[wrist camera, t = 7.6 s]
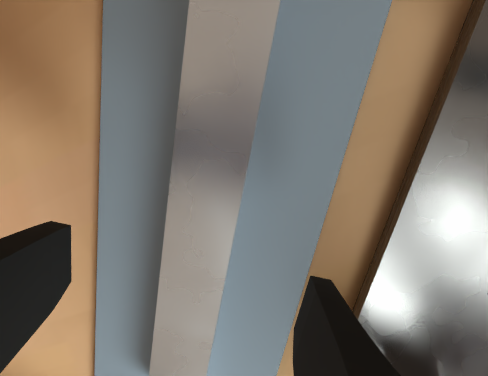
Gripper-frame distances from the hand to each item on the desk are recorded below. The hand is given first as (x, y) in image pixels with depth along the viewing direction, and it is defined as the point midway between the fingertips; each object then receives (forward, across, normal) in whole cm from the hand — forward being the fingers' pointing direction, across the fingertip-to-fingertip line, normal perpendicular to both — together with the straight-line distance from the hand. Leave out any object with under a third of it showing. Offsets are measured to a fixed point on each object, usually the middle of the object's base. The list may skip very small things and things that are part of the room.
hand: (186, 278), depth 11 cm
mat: (+4, 0, 0) cm, 5 cm away
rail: (+4, 0, 0) cm, 4 cm away
